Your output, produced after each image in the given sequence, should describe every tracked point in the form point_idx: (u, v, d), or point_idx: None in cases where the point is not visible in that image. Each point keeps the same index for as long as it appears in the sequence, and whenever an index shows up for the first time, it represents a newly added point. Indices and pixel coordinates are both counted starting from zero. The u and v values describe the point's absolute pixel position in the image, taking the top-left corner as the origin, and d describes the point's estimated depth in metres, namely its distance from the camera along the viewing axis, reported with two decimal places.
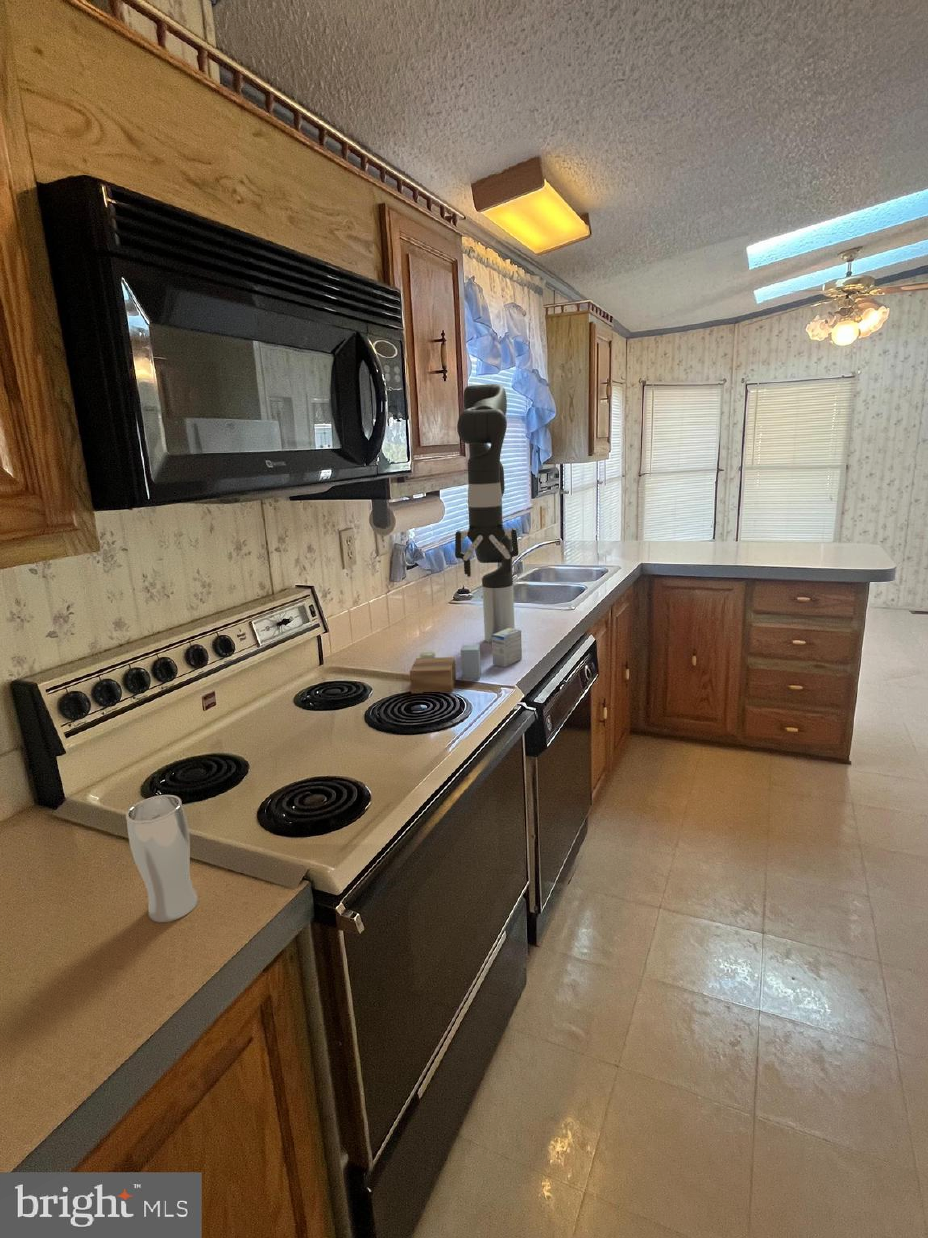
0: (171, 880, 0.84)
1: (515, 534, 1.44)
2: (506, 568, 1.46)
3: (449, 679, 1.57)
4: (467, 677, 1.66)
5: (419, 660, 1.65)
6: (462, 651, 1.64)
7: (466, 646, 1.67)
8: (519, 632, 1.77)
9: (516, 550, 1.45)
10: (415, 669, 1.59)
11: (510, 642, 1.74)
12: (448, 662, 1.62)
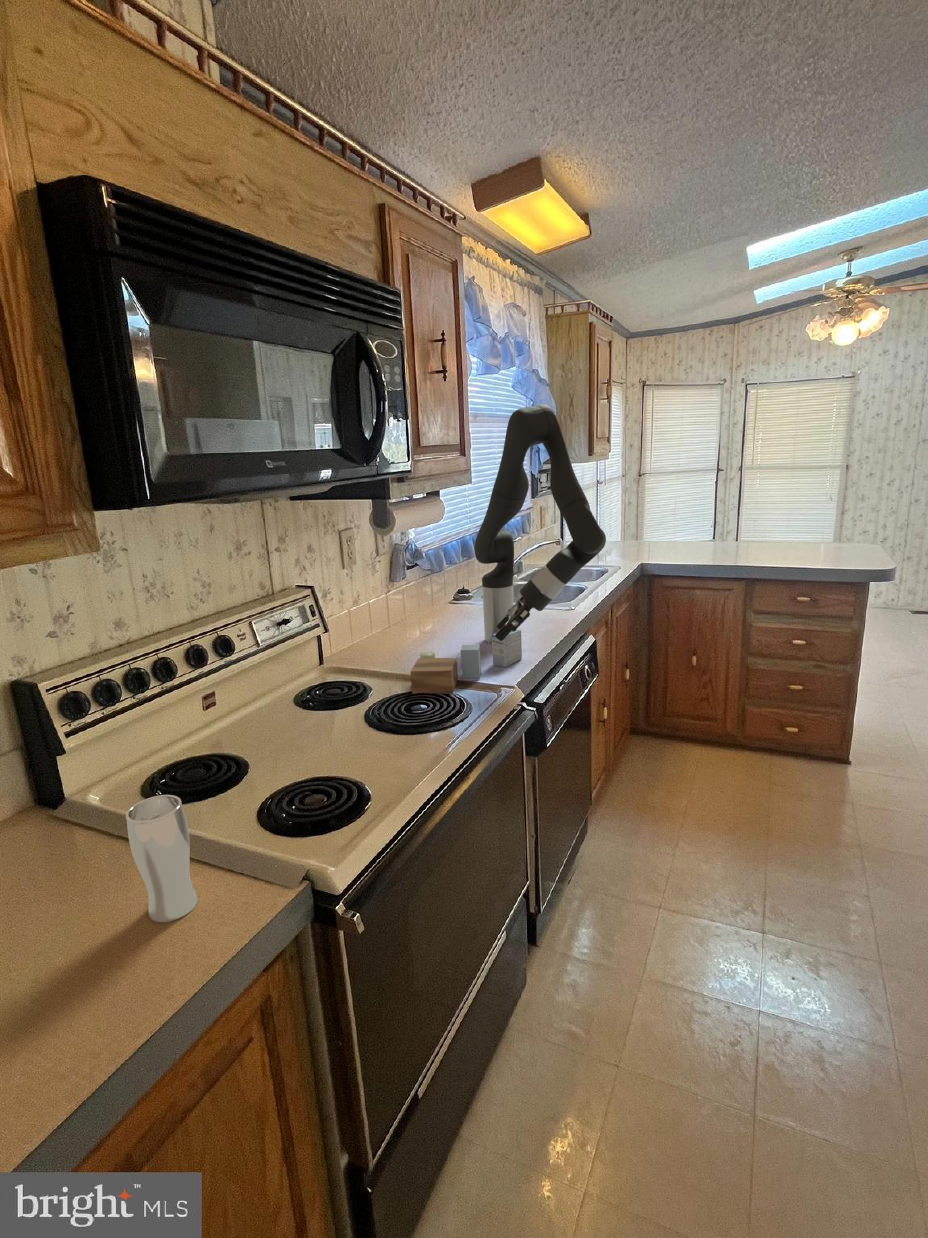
0: (171, 880, 0.84)
1: None
2: None
3: (450, 680, 1.57)
4: (467, 677, 1.66)
5: (421, 660, 1.65)
6: (462, 651, 1.64)
7: (466, 646, 1.67)
8: (519, 632, 1.77)
9: None
10: (416, 669, 1.58)
11: (510, 642, 1.74)
12: (449, 662, 1.62)
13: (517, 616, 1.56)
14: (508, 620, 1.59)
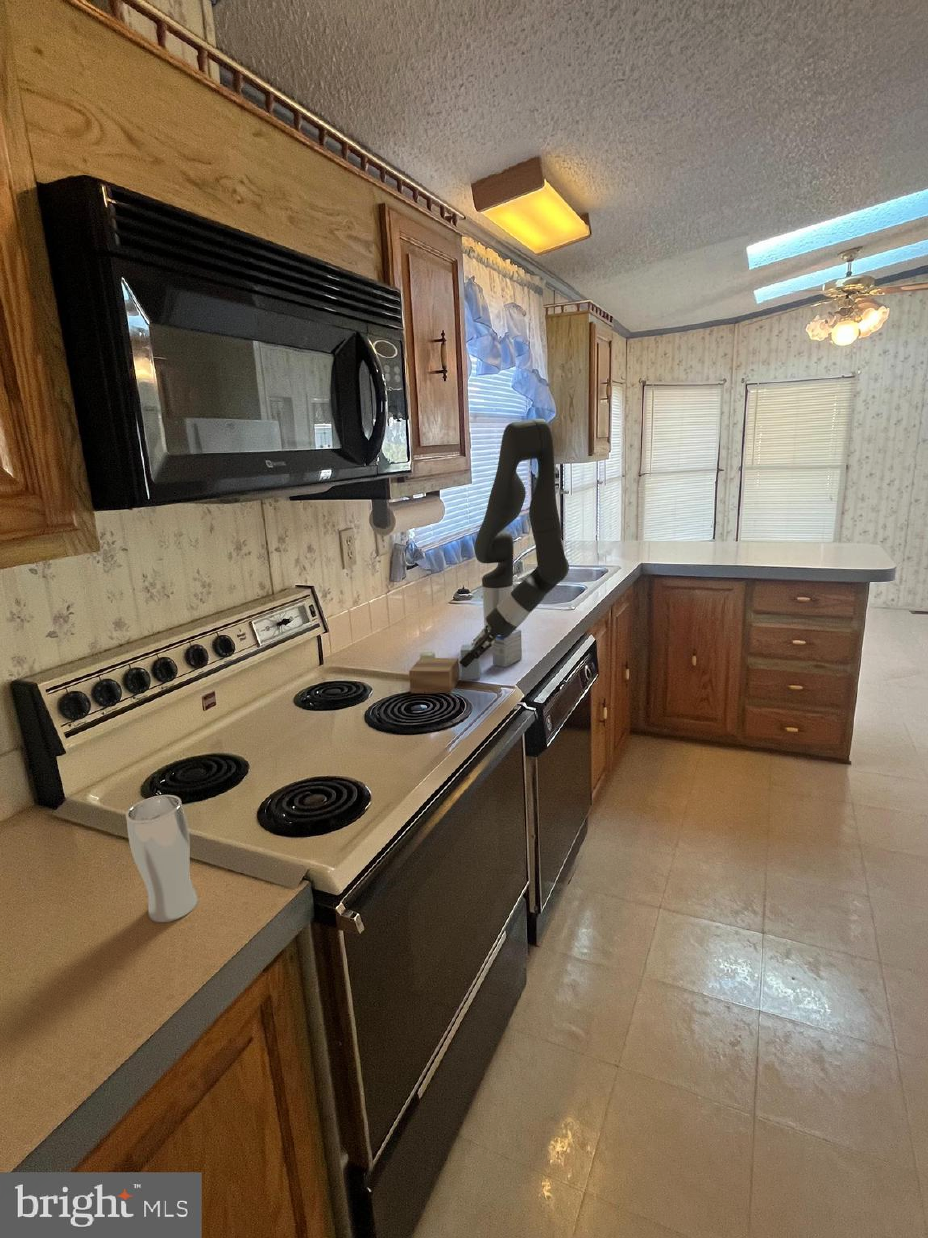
0: (171, 880, 0.84)
1: None
2: None
3: (447, 680, 1.56)
4: (467, 677, 1.66)
5: (422, 660, 1.65)
6: (462, 651, 1.64)
7: (466, 646, 1.67)
8: (519, 632, 1.77)
9: None
10: (415, 669, 1.59)
11: (510, 642, 1.74)
12: (449, 663, 1.62)
13: (479, 646, 1.59)
14: (472, 647, 1.63)
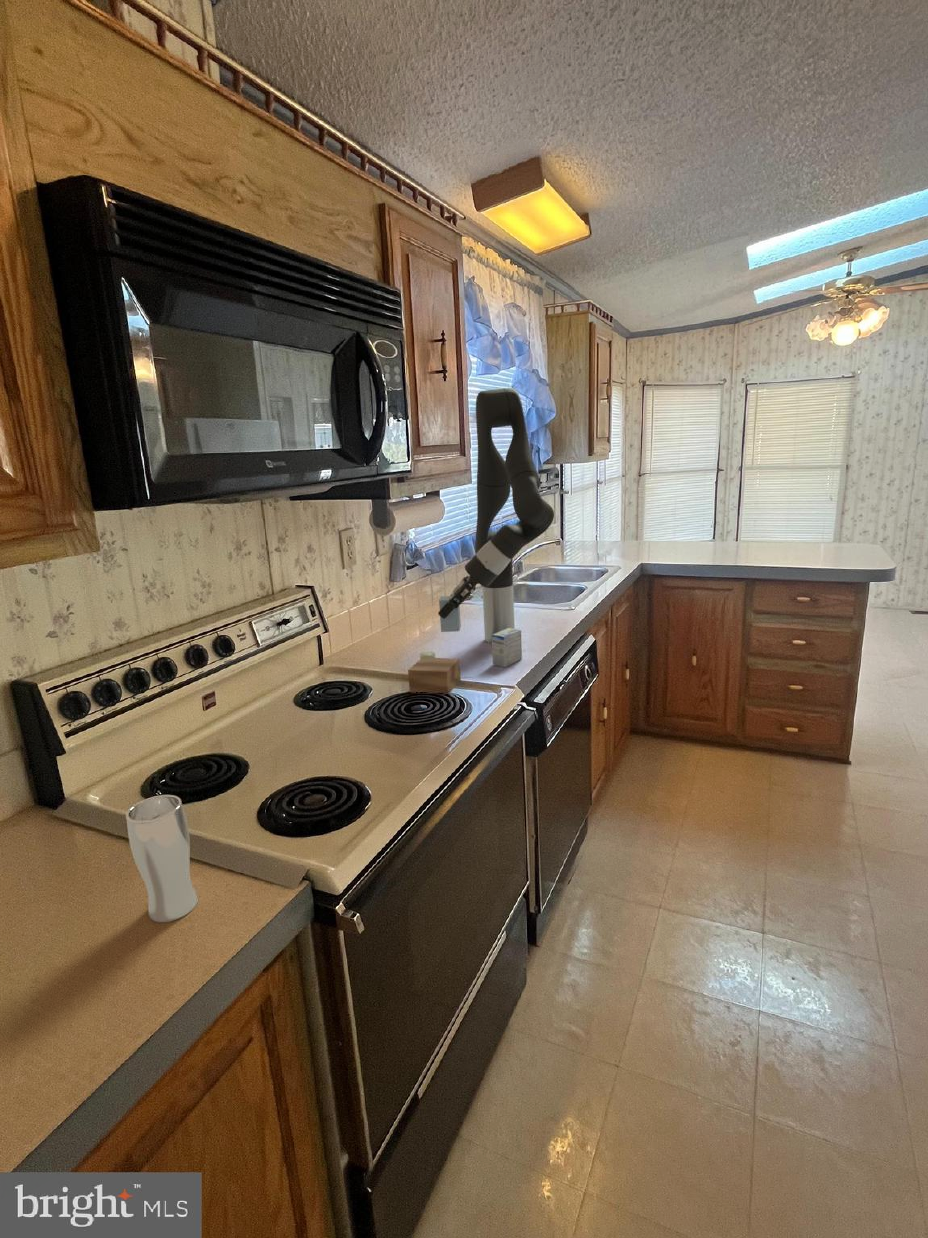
0: (171, 880, 0.84)
1: None
2: None
3: (445, 681, 1.56)
4: (446, 629, 1.59)
5: (423, 659, 1.65)
6: (441, 601, 1.58)
7: (445, 597, 1.61)
8: (519, 632, 1.77)
9: None
10: (414, 668, 1.59)
11: (510, 642, 1.74)
12: (449, 663, 1.61)
13: (457, 595, 1.53)
14: (451, 597, 1.57)
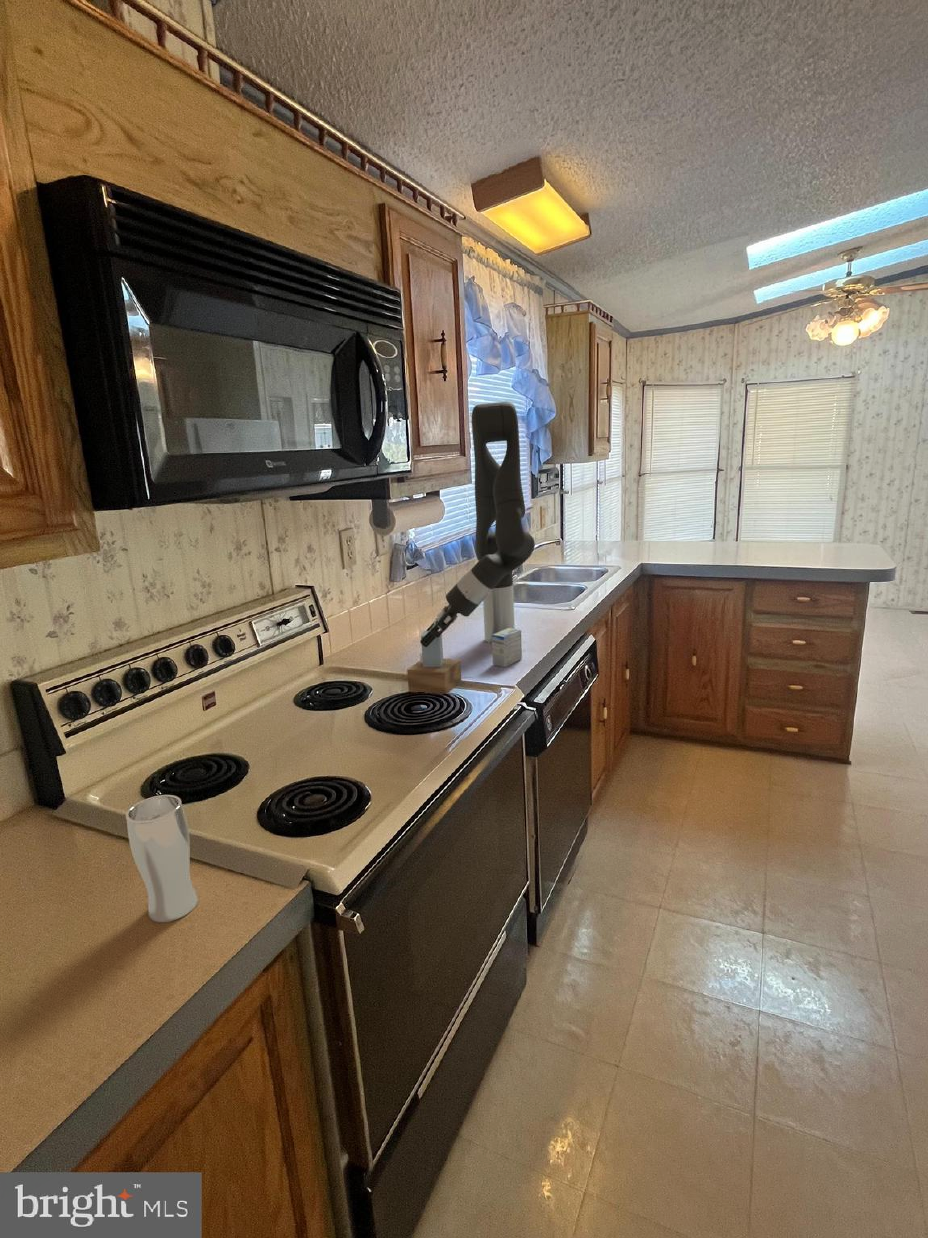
0: (171, 880, 0.84)
1: None
2: None
3: (443, 682, 1.56)
4: (428, 664, 1.60)
5: None
6: (422, 637, 1.58)
7: (427, 632, 1.61)
8: (519, 632, 1.77)
9: None
10: (413, 668, 1.59)
11: (510, 642, 1.74)
12: (449, 664, 1.61)
13: (440, 622, 1.52)
14: (433, 626, 1.55)
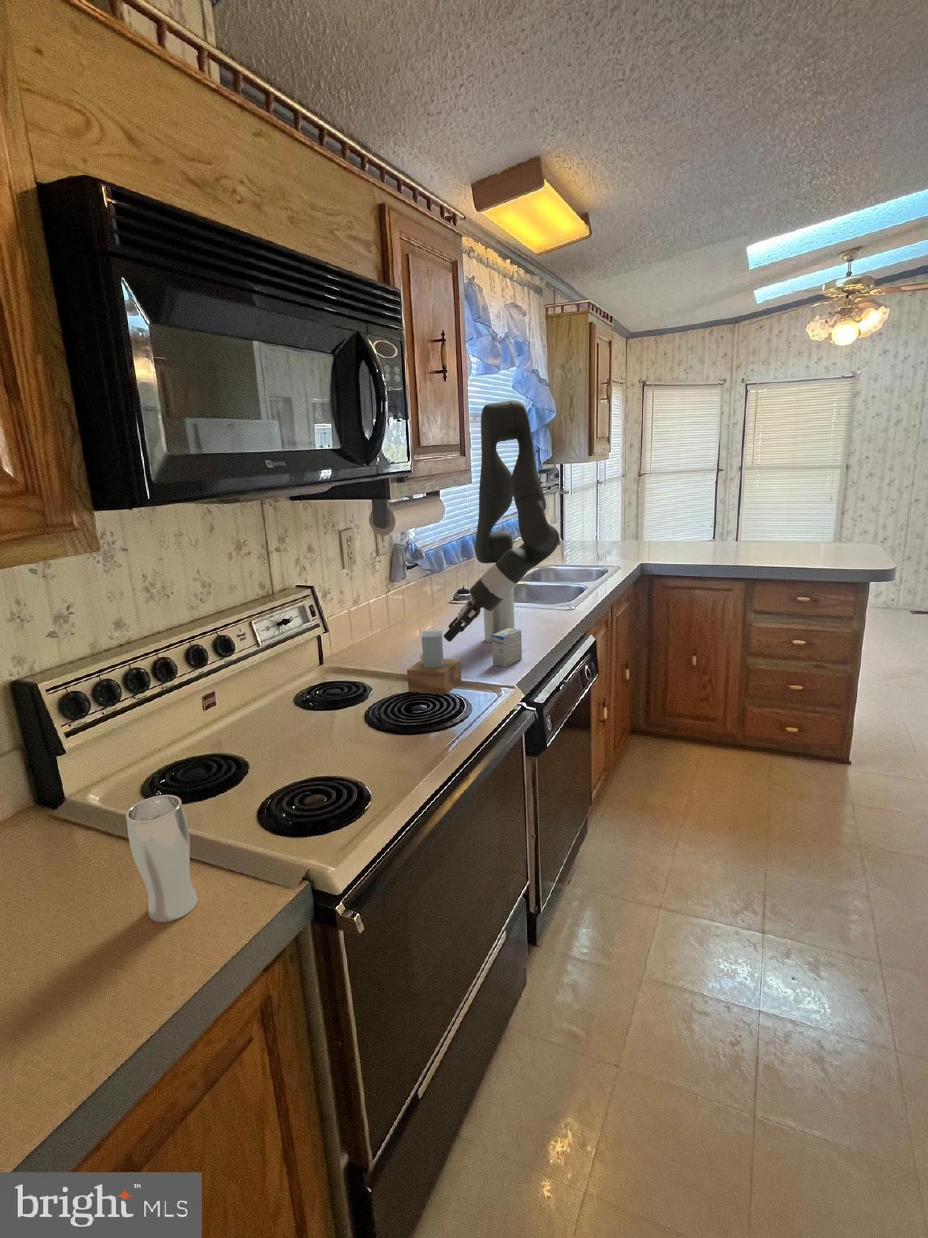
0: (171, 880, 0.84)
1: None
2: None
3: (443, 682, 1.56)
4: (429, 665, 1.59)
5: None
6: (423, 638, 1.57)
7: (428, 633, 1.60)
8: (519, 632, 1.77)
9: None
10: (413, 668, 1.59)
11: (510, 642, 1.74)
12: (449, 664, 1.61)
13: (464, 616, 1.51)
14: (456, 620, 1.54)
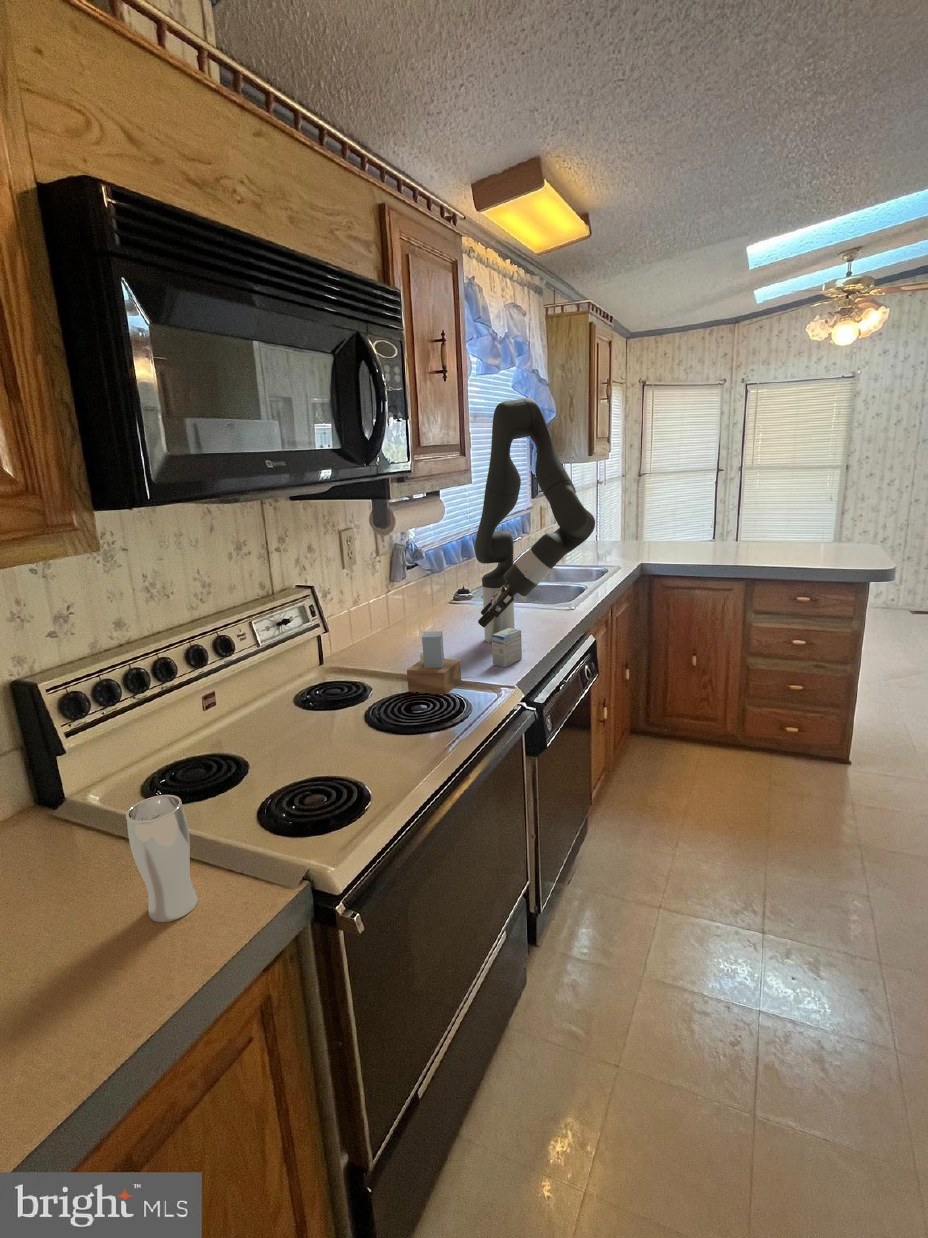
0: (171, 880, 0.84)
1: None
2: None
3: (442, 682, 1.56)
4: (429, 665, 1.59)
5: None
6: (423, 638, 1.57)
7: (428, 633, 1.60)
8: (519, 632, 1.77)
9: None
10: (413, 668, 1.59)
11: (510, 642, 1.74)
12: (449, 664, 1.61)
13: (500, 601, 1.50)
14: (491, 606, 1.53)
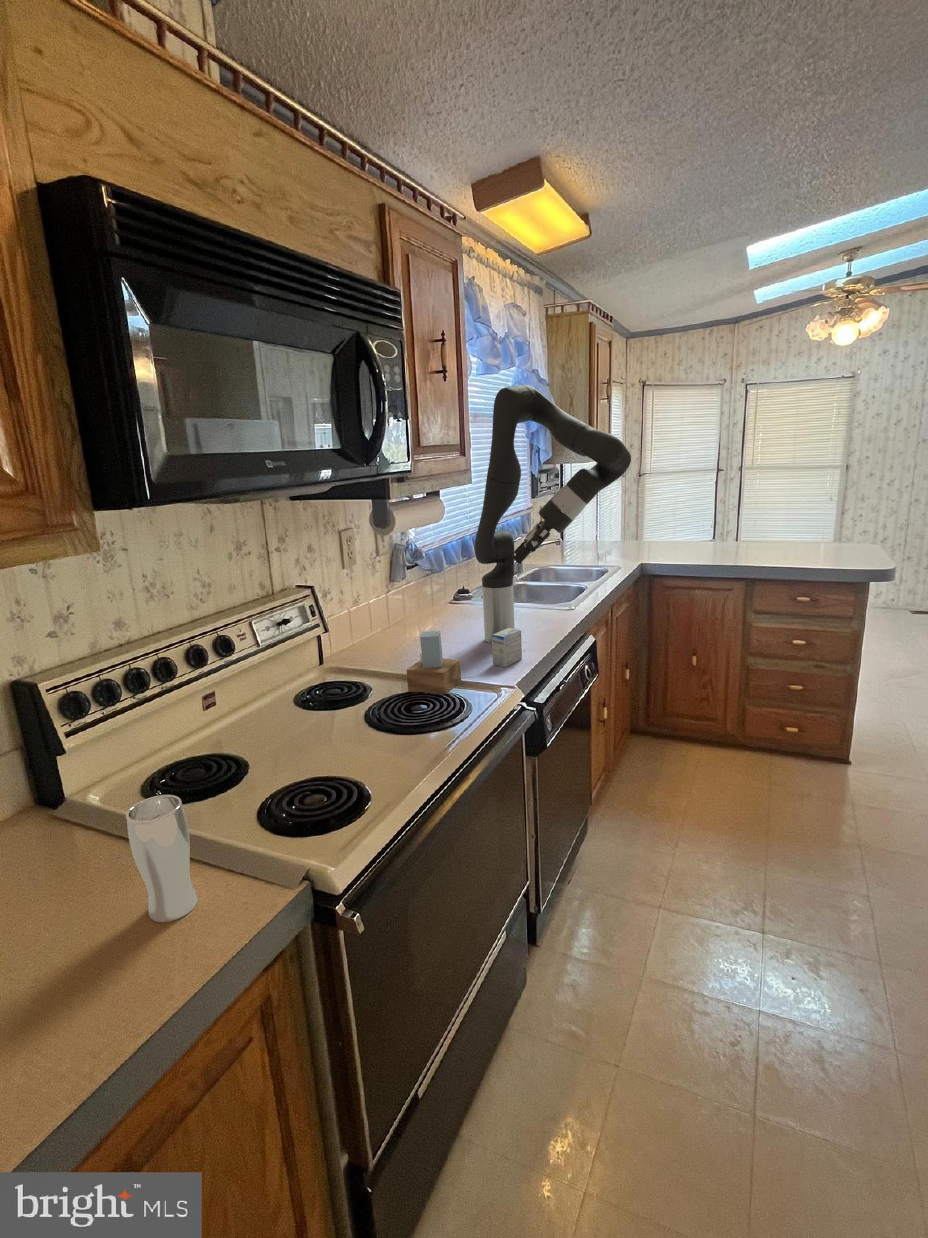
0: (171, 880, 0.84)
1: None
2: None
3: (442, 682, 1.56)
4: (428, 665, 1.59)
5: None
6: (422, 638, 1.57)
7: (426, 633, 1.60)
8: (519, 632, 1.77)
9: None
10: (413, 668, 1.60)
11: (510, 642, 1.74)
12: (448, 664, 1.61)
13: (537, 535, 1.50)
14: (527, 541, 1.54)
